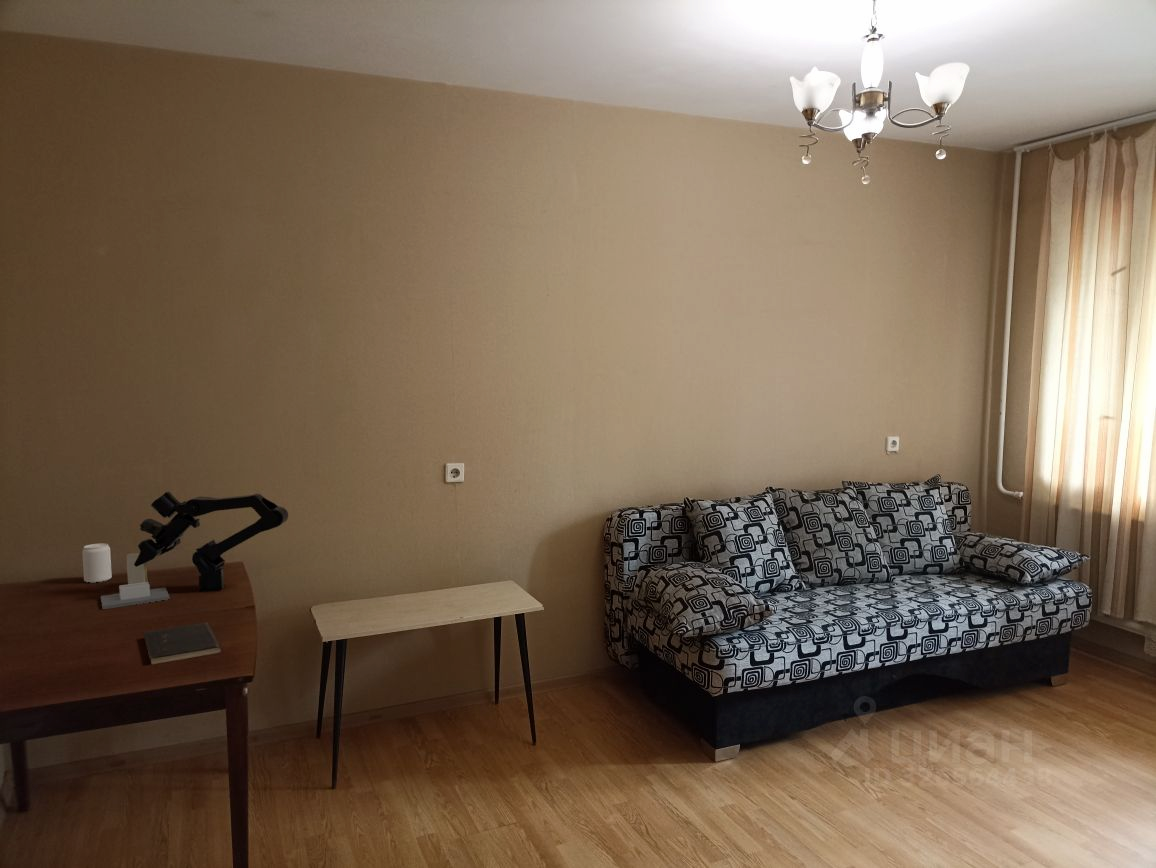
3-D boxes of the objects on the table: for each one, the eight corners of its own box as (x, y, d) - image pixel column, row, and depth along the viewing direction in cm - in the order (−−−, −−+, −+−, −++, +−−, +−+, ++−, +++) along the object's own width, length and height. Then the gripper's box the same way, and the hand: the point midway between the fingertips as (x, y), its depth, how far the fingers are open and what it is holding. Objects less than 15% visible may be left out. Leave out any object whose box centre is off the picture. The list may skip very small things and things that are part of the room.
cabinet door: (149, 589, 264) (147, 553, 263) (146, 591, 262) (144, 554, 261) (128, 590, 264) (126, 553, 263) (124, 591, 262) (123, 555, 261)
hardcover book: (150, 667, 196) (149, 658, 196) (143, 640, 216) (143, 632, 216) (222, 654, 205) (221, 645, 204) (209, 630, 224) (209, 621, 224)
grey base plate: (165, 590, 263) (164, 576, 263) (169, 599, 252) (169, 585, 252) (100, 599, 254) (99, 584, 253) (102, 609, 243) (101, 594, 242)
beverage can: (116, 579, 278) (114, 544, 277) (92, 584, 271) (90, 549, 270) (103, 576, 282) (101, 542, 281) (79, 581, 275) (77, 546, 274)
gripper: (169, 505, 271) (136, 539, 271) (143, 515, 252) (108, 551, 252) (194, 528, 272) (161, 562, 272) (170, 540, 253) (135, 576, 253)
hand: (141, 562), depth 262 cm, fingers open, 9 cm apart
